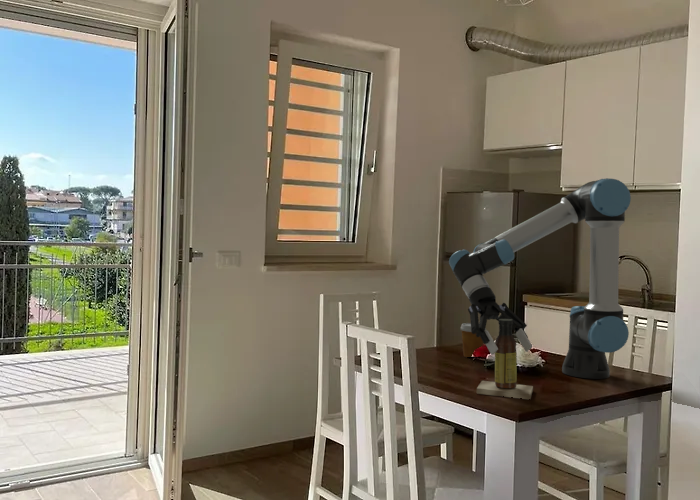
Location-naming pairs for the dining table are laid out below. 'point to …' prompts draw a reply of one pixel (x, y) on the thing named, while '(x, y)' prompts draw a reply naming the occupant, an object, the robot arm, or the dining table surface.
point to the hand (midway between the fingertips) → (512, 350)
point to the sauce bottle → (505, 356)
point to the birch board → (505, 390)
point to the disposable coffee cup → (469, 340)
